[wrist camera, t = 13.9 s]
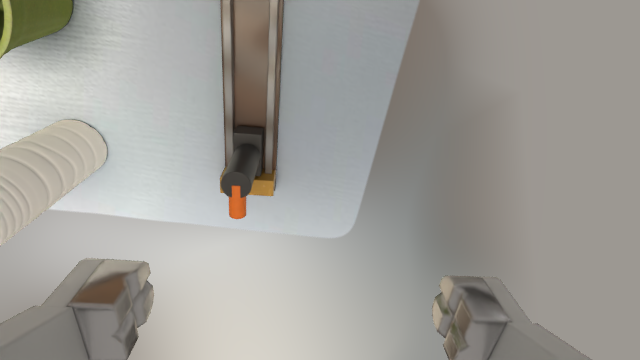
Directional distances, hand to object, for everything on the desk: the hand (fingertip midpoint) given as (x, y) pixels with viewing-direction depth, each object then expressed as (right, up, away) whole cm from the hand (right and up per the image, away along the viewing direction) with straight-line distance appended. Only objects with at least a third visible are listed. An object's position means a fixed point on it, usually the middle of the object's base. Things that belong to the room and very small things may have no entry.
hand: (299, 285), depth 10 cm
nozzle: (-8, +6, +30) cm, 32 cm away
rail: (-7, +16, +27) cm, 32 cm away
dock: (-8, +4, +32) cm, 33 cm away
